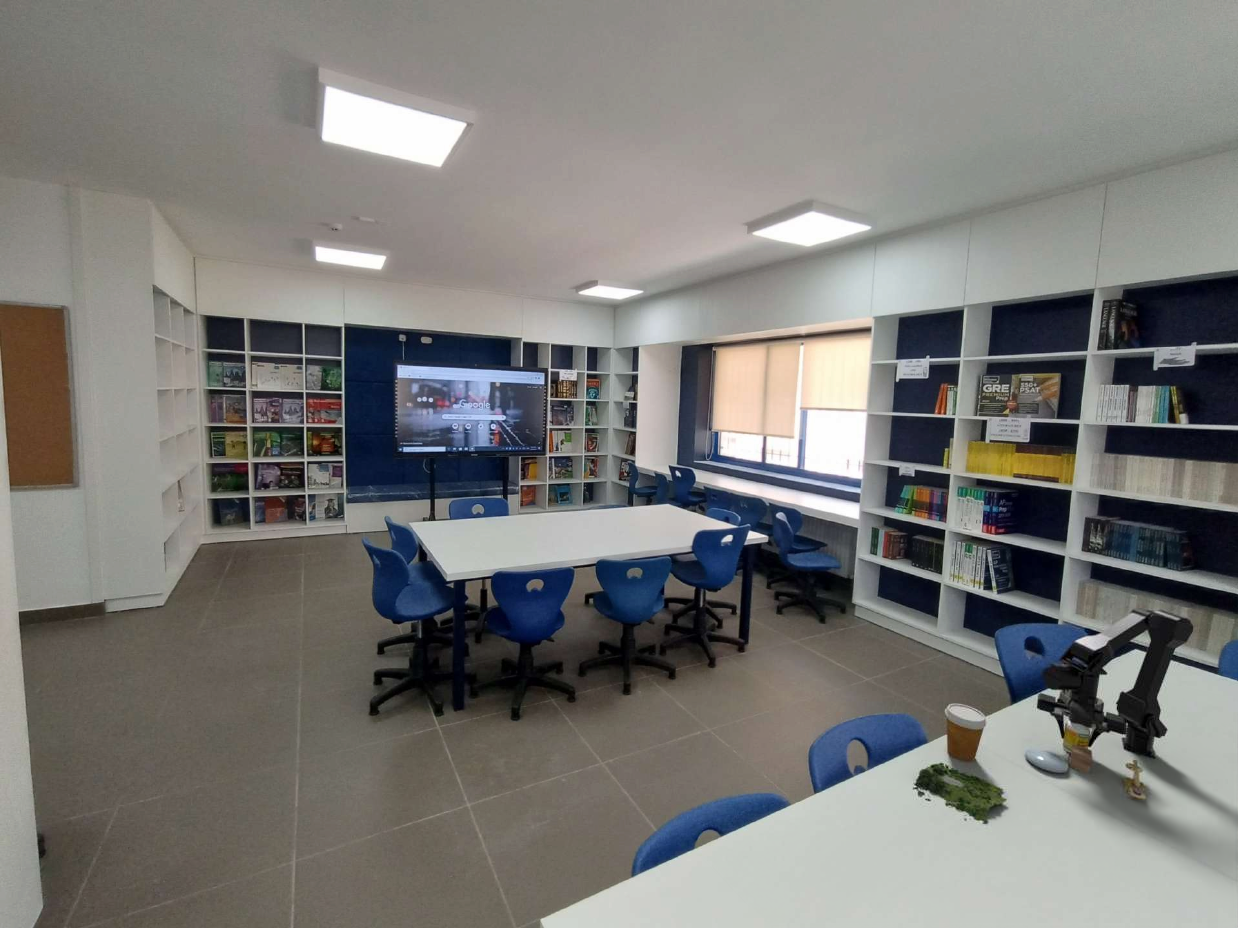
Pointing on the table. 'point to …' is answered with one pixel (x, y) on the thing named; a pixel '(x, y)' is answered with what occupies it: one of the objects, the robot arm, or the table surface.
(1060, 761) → the light blue dish
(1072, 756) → the walnut block
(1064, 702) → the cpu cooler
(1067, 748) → the supplement bottle
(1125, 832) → the table surface
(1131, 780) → the brass balance
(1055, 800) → the table surface
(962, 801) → the landscape model
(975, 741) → the disposable coffee cup
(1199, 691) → the table surface
